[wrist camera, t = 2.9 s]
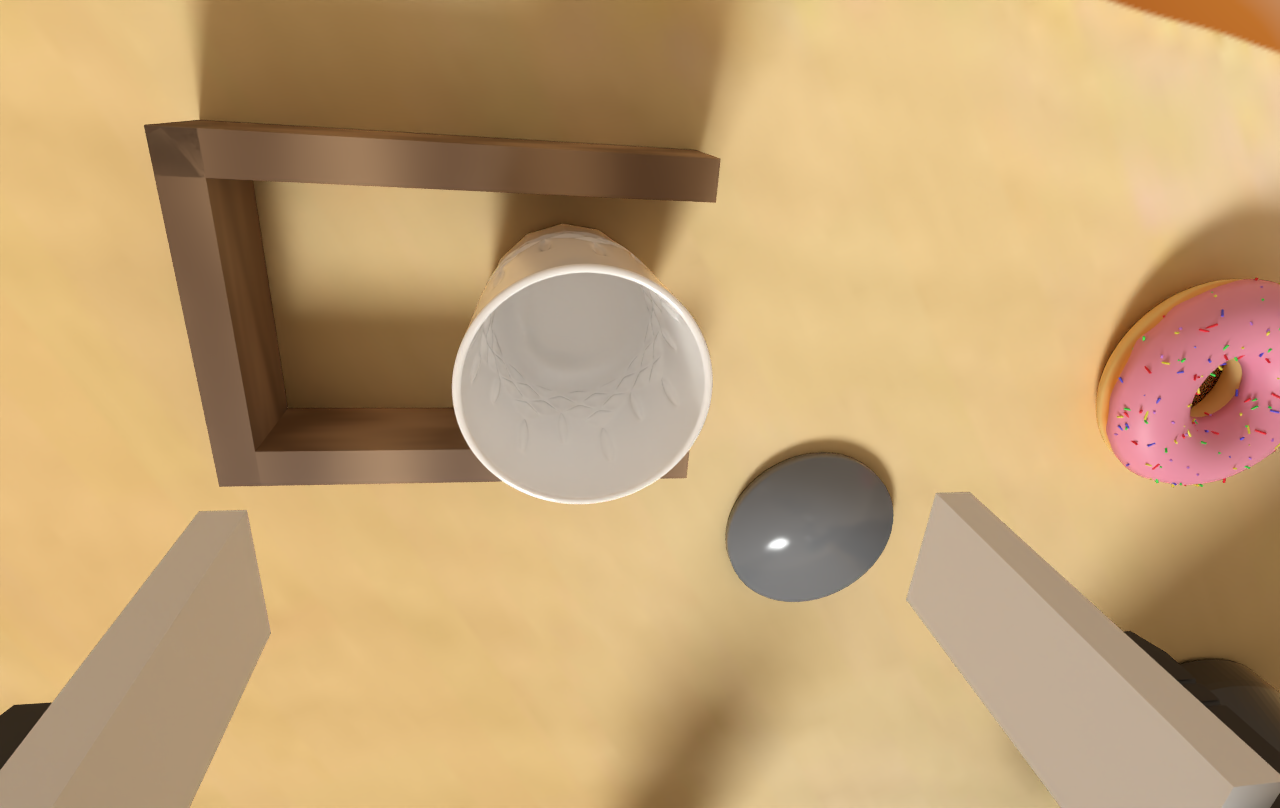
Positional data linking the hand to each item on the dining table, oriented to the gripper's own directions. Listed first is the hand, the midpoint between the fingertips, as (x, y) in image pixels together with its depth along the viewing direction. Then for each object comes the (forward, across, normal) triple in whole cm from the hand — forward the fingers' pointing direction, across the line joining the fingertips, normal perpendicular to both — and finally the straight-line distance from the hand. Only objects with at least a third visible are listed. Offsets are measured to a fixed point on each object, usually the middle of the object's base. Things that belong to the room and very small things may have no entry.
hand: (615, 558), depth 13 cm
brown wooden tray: (+18, +4, 0) cm, 19 cm away
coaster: (+18, -13, +12) cm, 25 cm away
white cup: (+18, 0, 0) cm, 18 cm away
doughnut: (+18, -32, +3) cm, 37 cm away
